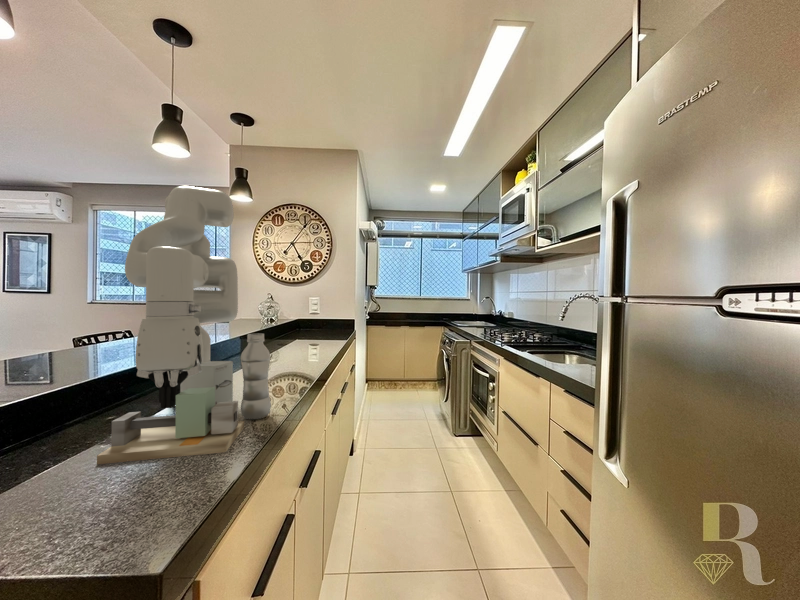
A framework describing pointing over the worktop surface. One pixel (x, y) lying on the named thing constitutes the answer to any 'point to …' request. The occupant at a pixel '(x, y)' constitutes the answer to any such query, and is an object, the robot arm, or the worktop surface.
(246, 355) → the plastic bottle
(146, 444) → the cable board
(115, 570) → the worktop surface
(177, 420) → the pale green block
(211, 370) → the supplement box
